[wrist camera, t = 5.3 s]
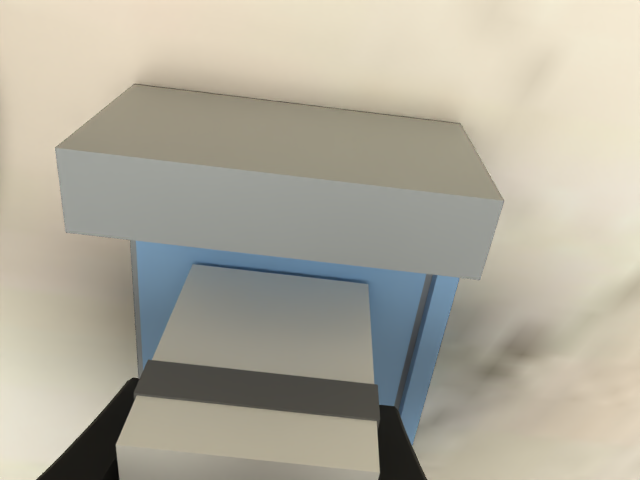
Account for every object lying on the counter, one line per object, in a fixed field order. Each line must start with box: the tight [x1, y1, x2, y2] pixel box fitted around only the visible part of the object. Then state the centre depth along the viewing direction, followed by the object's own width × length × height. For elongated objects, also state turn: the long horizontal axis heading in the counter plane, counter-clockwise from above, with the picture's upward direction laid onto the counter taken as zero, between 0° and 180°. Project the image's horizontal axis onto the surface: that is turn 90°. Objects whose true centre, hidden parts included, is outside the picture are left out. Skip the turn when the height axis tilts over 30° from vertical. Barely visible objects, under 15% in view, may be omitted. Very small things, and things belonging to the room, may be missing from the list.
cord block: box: [116, 264, 380, 480], centre depth 12 cm, size 5×4×5 cm
